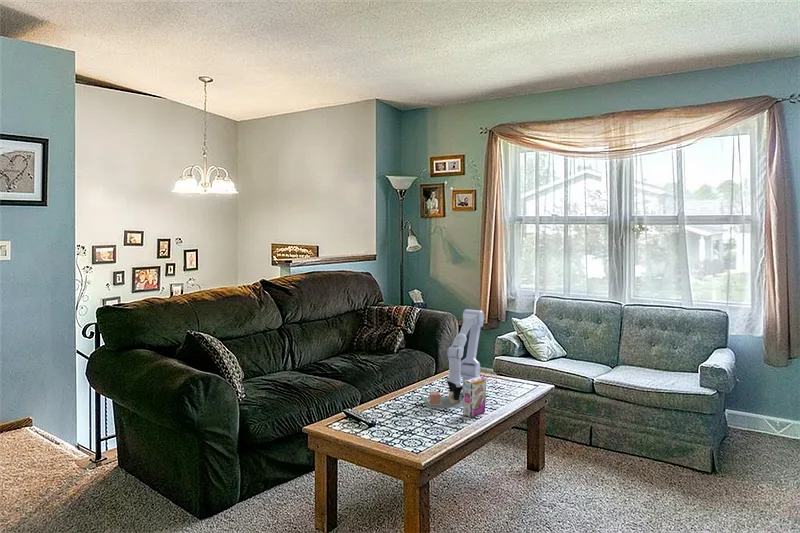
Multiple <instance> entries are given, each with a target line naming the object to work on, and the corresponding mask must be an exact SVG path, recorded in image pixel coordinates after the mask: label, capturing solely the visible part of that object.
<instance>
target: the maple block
mask: <svg viewBox="0 0 800 533" xmlns="http://www.w3.org/2000/svg"><path fill="white" fill-rule="evenodd" d="M448 397H449V401H450V402H451V403H460V397H461V396H460V397H459V400H454V395H453V391H452V392H450V391H449V392H448Z"/></svg>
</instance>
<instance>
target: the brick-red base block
mask: <svg viewBox="0 0 800 533" xmlns="http://www.w3.org/2000/svg"><path fill="white" fill-rule="evenodd" d="M440 397H441V393H440V392H439V391H432V392H429V398H430V403H431V404H440Z"/></svg>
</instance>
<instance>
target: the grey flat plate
mask: <svg viewBox="0 0 800 533" xmlns="http://www.w3.org/2000/svg"><path fill="white" fill-rule="evenodd" d="M421 398H422V402H424V404H425V406H426V407H427V408H428V409H440V408H442V409H443V408H444V409H445V408H446V409H447V408H462V407H463V403H464V398H462V397H461V396H460V403H451V402H450V401H449V396H440V404H431V403H430V397H421Z"/></svg>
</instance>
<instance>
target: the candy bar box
mask: <svg viewBox="0 0 800 533" xmlns="http://www.w3.org/2000/svg"><path fill="white" fill-rule="evenodd" d="M486 389H487V378H485V377H481V376H478V377H476V378H472V379H469V380H465V381H464V396H463V400H464V403H463V408H462V409H463V410H462V415H463V416H466V417H468V418H473V417H476V416H478V415H480V414H483V413H486V397H487V394H486V393H487V390H486Z"/></svg>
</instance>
